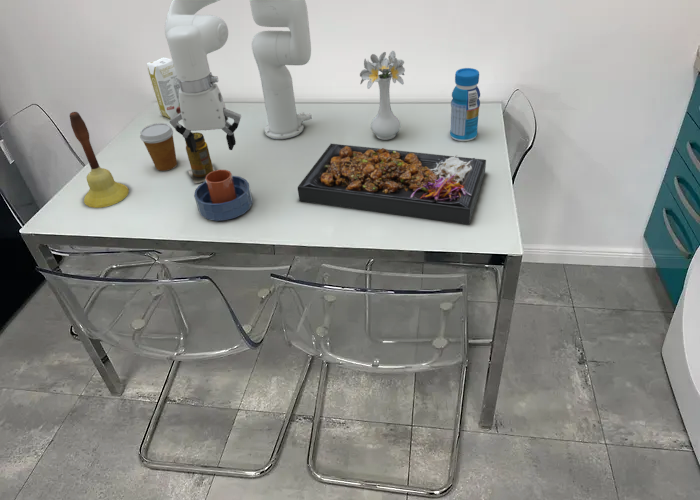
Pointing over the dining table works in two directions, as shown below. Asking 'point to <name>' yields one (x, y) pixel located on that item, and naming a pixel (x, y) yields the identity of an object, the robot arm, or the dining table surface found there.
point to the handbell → (97, 172)
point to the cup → (220, 186)
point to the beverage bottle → (465, 105)
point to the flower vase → (384, 92)
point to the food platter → (395, 182)
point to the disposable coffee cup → (160, 145)
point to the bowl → (227, 208)
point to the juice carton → (165, 86)
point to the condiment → (199, 159)
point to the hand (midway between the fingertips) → (212, 148)
